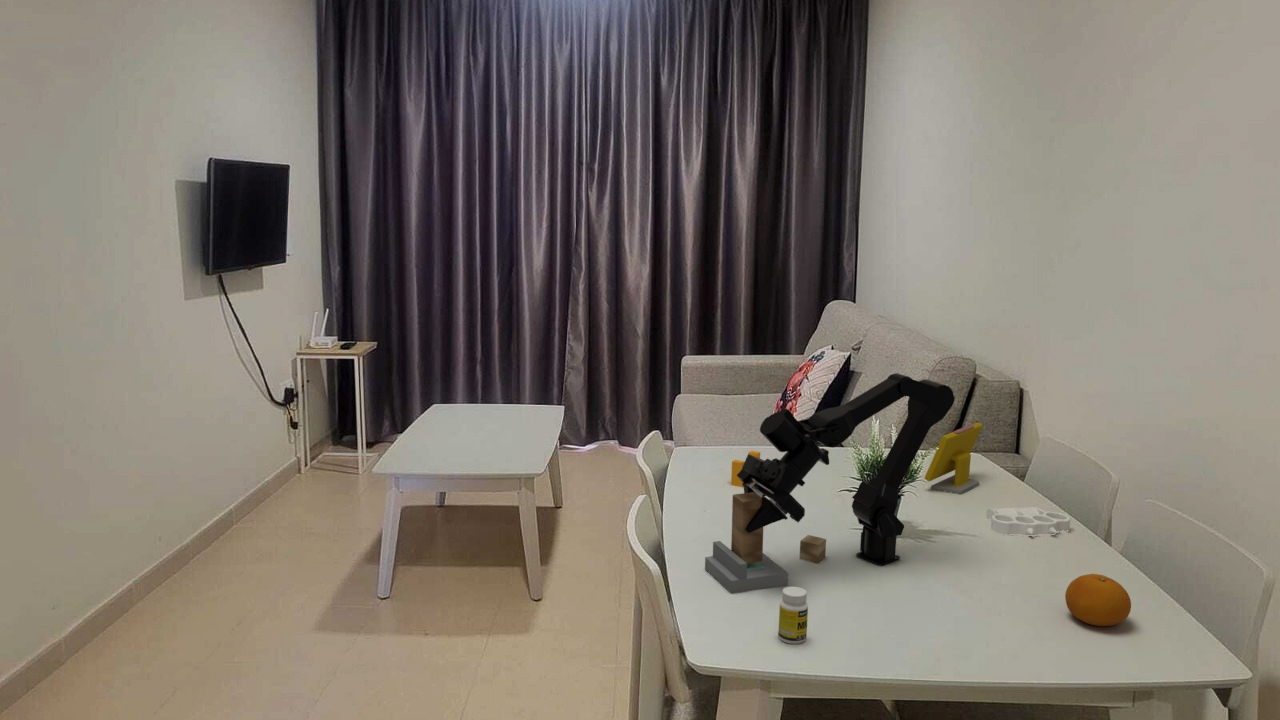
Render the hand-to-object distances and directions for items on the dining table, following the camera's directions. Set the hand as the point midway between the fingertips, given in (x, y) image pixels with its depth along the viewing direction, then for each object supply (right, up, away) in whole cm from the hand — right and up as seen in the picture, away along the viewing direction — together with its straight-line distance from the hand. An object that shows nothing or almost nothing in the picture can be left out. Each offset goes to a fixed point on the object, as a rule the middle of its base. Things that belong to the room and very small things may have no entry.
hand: (741, 526), depth 179 cm
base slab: (+1, -10, +2) cm, 10 cm away
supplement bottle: (+6, -15, -22) cm, 27 cm away
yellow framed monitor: (+62, -1, +60) cm, 86 cm away
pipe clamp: (+9, 0, +63) cm, 64 cm away
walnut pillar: (+1, -6, +2) cm, 7 cm away
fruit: (+62, -14, -14) cm, 65 cm away
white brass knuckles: (+68, -6, +32) cm, 75 cm away
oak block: (+16, -9, +12) cm, 22 cm away
